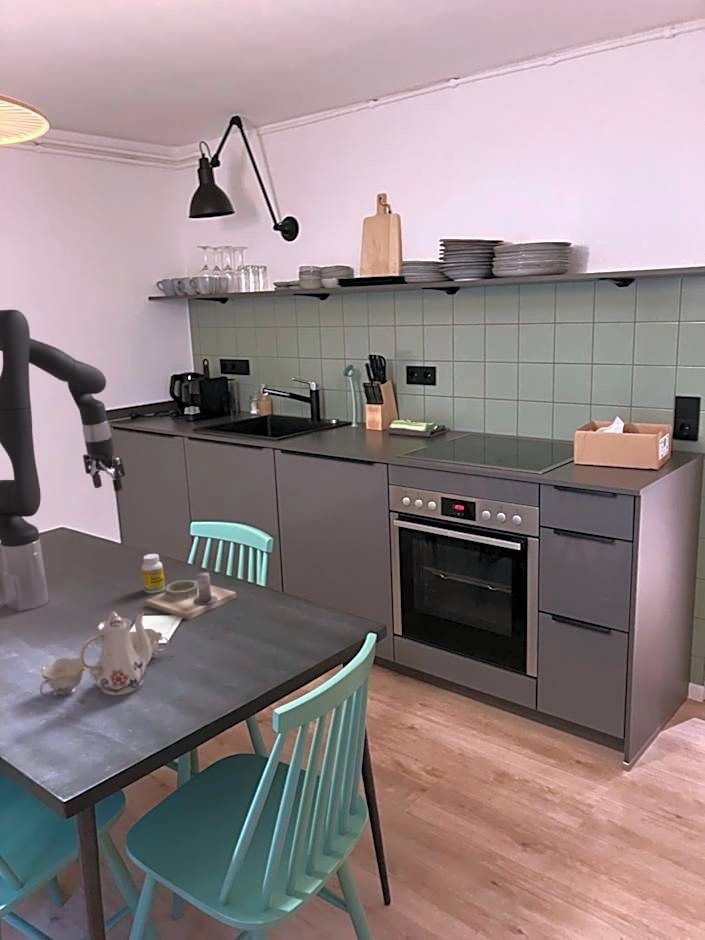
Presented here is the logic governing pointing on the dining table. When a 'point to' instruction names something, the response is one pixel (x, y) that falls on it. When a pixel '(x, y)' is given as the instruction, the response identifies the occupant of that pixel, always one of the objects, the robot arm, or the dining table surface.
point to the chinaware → (109, 659)
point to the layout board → (190, 597)
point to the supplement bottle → (153, 574)
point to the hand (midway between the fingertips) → (108, 489)
